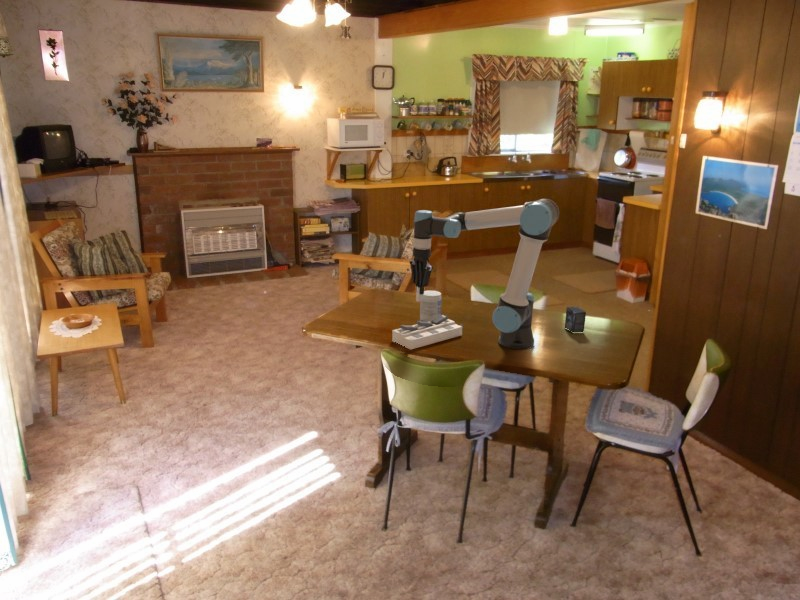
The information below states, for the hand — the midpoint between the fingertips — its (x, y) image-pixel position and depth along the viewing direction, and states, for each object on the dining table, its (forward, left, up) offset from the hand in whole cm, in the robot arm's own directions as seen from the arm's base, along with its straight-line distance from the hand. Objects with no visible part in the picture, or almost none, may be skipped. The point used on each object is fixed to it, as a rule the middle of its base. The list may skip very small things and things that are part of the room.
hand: (419, 300), depth 298 cm
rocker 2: (-1, -2, -11) cm, 11 cm away
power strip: (-4, -5, -16) cm, 18 cm away
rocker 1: (-2, +7, -11) cm, 13 cm away
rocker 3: (-1, -11, -11) cm, 15 cm away
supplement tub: (+10, -16, -17) cm, 25 cm away
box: (-36, -63, -17) cm, 75 cm away
